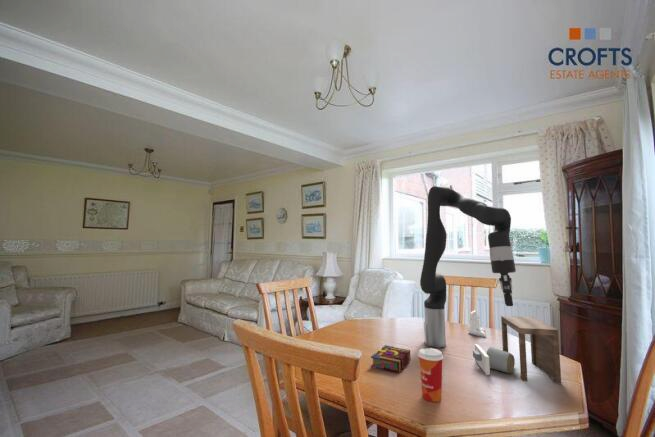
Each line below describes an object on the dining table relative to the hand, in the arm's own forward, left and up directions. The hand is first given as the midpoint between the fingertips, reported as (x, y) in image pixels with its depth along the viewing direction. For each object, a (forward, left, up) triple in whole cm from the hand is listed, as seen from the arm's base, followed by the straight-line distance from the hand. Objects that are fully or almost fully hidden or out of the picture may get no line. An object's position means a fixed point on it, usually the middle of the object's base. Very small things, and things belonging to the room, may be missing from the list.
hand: (509, 305), depth 108 cm
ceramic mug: (0, +10, -26) cm, 28 cm away
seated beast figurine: (+4, +56, -26) cm, 62 cm away
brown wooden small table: (+10, +10, -26) cm, 29 cm away
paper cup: (-29, -17, -26) cm, 43 cm away
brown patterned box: (-42, +7, -26) cm, 50 cm away
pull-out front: (-8, +10, -26) cm, 29 cm away
